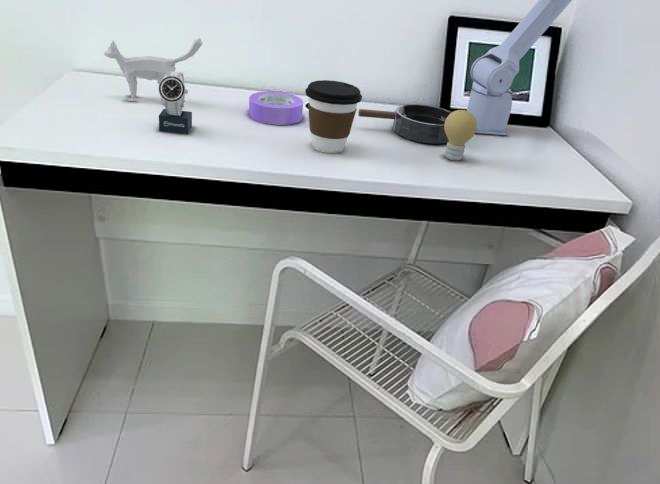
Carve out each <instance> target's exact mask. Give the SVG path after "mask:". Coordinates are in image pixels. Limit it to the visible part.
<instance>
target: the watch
mask: <svg viewBox="0 0 660 484" xmlns="http://www.w3.org/2000/svg"><path fill="white" fill-rule="evenodd" d="M158 93H159V96H160V98H161V102H162V105H163V106H164V108H162V110H161V112H160V113H159V114H158V132H164V133H173V134H181V135H189V134H190V131H191V130H192V128H193V112H192V111H188V110H183V109H184V106H185V103H186V100H185V98H186V95H188V94H189V89H186V85H185V75H184V72H181V71H175V72H173V71H169V72H168V74H166V75H165V76H164V78H163V80H162V81H161V82H160V84H158Z"/></svg>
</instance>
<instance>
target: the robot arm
mask: <svg viewBox="0 0 660 484" xmlns="http://www.w3.org/2000/svg"><path fill="white" fill-rule="evenodd" d="M572 1H573V0H537V2H536V3H535V4H534V6H532V8H531V9H530V10H529V11H528V12H527V14H526V15H525V16H524V17H523V18H522V19H521V21H520V22H519V23H518V24H517V25H516V26H515V28H513V30H512V31H511V32H510V33H509V35H508V36H507V37H506V38H505V39H504V40H503V42H501V44H500V45H497V46H495V47H492V48H489V50H488V51H487V52H486V53H485V54H484V55H482V56H480V57H478V58H477V59H476V60H474V62H473V63H472V64H471V67H470V70H469V71H470V72H469V73H470V77H471V80H472V86H471V90H470V94H469V95H470V96H469V100H468V104H467V109H466V111H468V112H470V113H472V114H473V115H474V116H475V118H476V121H477V128H476V132H475V134H484V135H494V136H495V135H497V136H507V133H506V131H507V126H508V122H509V119H510V115H511V111H512V107H513V98H512V95H511V94H510V93H508V92H507V91H509V89H510V88H511V87H512V84H513V81H514V79H515V77H516V76H517V75H518V73H519V72H520V60H521V59H522V58H523V57H524V56H525V55H526V54H527V52H528V51H529V50H530V49H531V48H532V47H533V46H534V44H535V43H536V42H537V41H538V40H539V39H540V38H541V36H542V35H543V34H544V33H546V31H547V30H548V29H549V27H550V26H552V24H553V23H554V21H556V19H557V18H558V17H559V16H560V15H561V14H562V12H563V11H565V9H566V8H567V7H568V6H569V5H570V4H571V2H572Z"/></svg>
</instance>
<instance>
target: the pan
mask: <svg viewBox="0 0 660 484" xmlns="http://www.w3.org/2000/svg"><path fill="white" fill-rule="evenodd" d="M394 112H395V113H396V117H395V119H393V122H392V129H393V131H394V132H395V133H397V135H399V136H401V137H403V138H404V139H408V140H409V141H413V142H417V143H421V144H427V145H429V144H430V145H441V144H447V143H448V142H449V140H448V137H447V135H446V133H445V129H444V125H445V121H446V118H447V117H448V116H449V114H451V113H452V112H453V111H451V110H448V109H446V108H442V107H438V106H433V105H429V104H418V103H408V104H407V103H406V104H401V105H399V106H397V107H396V108H395V111H394Z"/></svg>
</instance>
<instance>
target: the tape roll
mask: <svg viewBox="0 0 660 484" xmlns="http://www.w3.org/2000/svg"><path fill="white" fill-rule="evenodd" d="M248 100H249V101H248V116H249V117H250V118H251V119H252V120H254V121H255V122H259V123H262V124H268V125H273V126H274V125H276V126H287V125H289V126H290V125H294V124H297V123H300V122H301V121H302V120H303V112H304V111H303V108H304V101H303V99H302V98H301V97H299V96H297V95H295V94H292V93H288V92H283V91H273V90H272V91H271V90H266V91H258V92H254V93H252V94H250V95H249V98H248Z"/></svg>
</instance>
